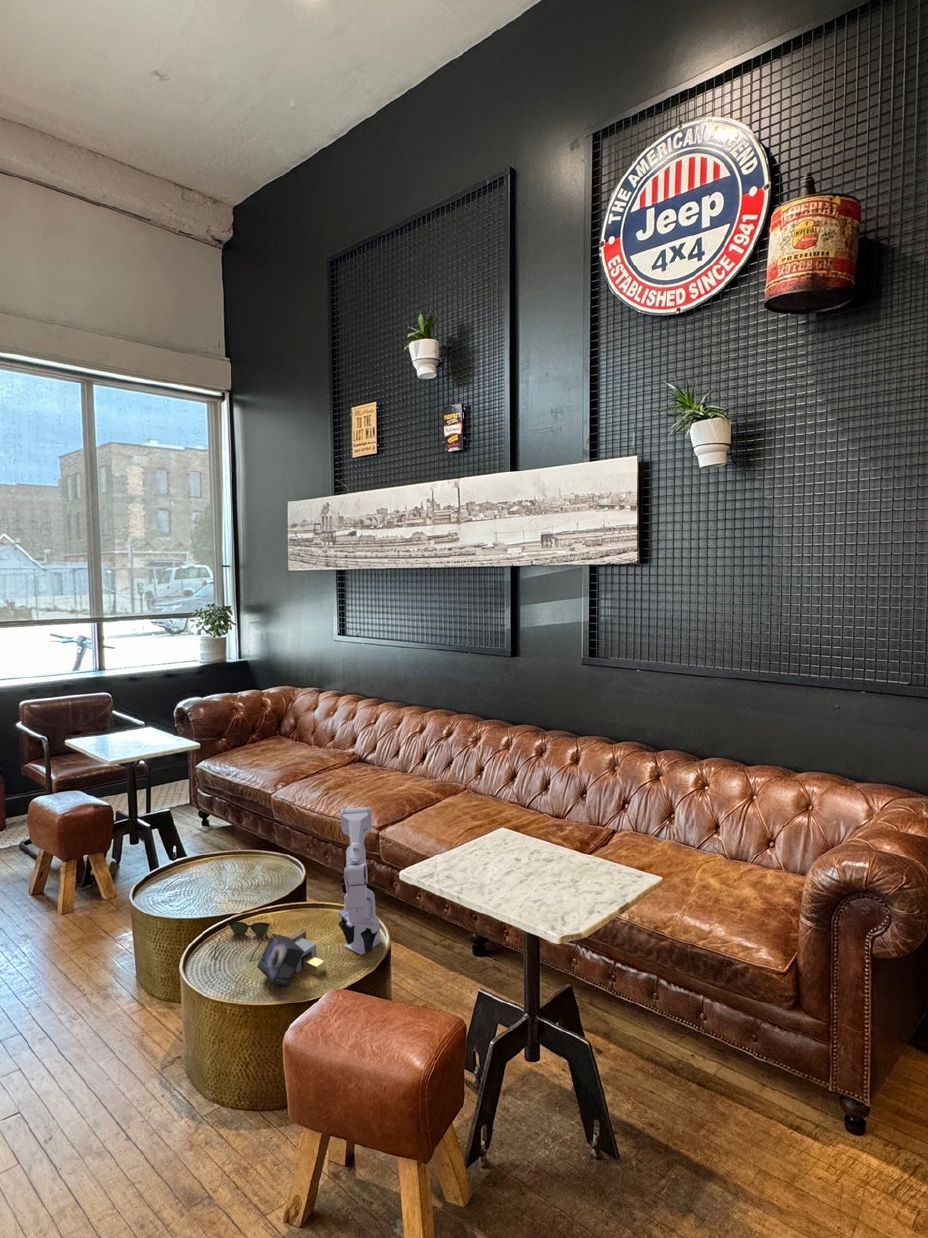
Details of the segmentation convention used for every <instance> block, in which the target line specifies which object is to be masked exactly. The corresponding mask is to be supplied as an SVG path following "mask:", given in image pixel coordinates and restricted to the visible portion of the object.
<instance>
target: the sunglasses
mask: <svg viewBox="0 0 928 1238" xmlns="http://www.w3.org/2000/svg"><path fill="white" fill-rule="evenodd" d="M228 926H229V927H230V929H231V930H232V933H233V934H234V935H245V934H247V932H248V930H249V928H250V929H251V931H252V932H253V933H254V934H255V935H256V936H257V935H260V936H263V937H262V938H261V940H260V942H259V943H258V944H257V946H256V948H255V950H254V951H253V953H252V955H251V957H250V960H249V962H251V961H252V959H253V957H254V954H255V953H256V951H257V950H258V949H259V947H260V945H261V943H262V942H263V941H264V938H265V937H266V936H267V935H268V933H269V930H270V929H269V928H270V926H271V924H270V923H269V922H261V921H259V922H254V923H252V924H247V923H245V922H243V921H242V922H241V921H230V922H228V923H227V925H226V926H225V928H224V930H223V931H222V933H221V935H220V937H219V939H218V940H217V942H216V943H217V944H216V945H215V949H214V957H213V958H214V959H213V960H214V961H216V952H217V948H218V946H219V943H220V941H221V938H222V936H223V934H224V933H225V931H226V929H227V928H229V927H228Z"/></svg>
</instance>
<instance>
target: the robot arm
mask: <svg viewBox="0 0 928 1238" xmlns="http://www.w3.org/2000/svg"><path fill="white" fill-rule="evenodd" d="M372 820H373V819H372V808H371V806H364V807H351V808H343V807H342V809H340V827H341V831H342V834H343V835H346V836H348V837H349V844H350V845H349V846H347V848H346V851H345V852H346V853H345V855H346V859H345V860H346V862H345V864H346V865H345V867H344V871H343V872H344V875H343V876H344V877H343V878H344V884H345V885H344V886H345V891H346V893H345V895H344V897H343V909H342V910H340V911H338V918H339V919H340V921H339V922H338V926H339V927H340V929H341V931H342V933H343V935H344V937H345V942H346V943H345V944H344V948H346V949H348V950H350V951H353V952H354V953H357V954H358V955H361V956H362V955H364V954H369V953H370V952H372V951H373V948H375V947H376V946H377V945H379V944H381V943H382V942H383V939H381V931H380V930H381V929H380V928H381V927H380V920H379V917H378V916H377V914H376V912H377V911H376V899H375V893H374V892H373V890H371V889H370V888H368V887H367V884H368V867H367V861H366V860H367V859H366V858H367V857H366V853H367V852H366V847H365V838H366V835H368V834H369V833H372V829H373V828H372V825H373V823H372V822H373V821H372Z"/></svg>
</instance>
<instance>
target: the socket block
mask: <svg viewBox="0 0 928 1238" xmlns="http://www.w3.org/2000/svg"><path fill="white" fill-rule="evenodd" d="M294 942H295V943H296V944H297V945H298V946H299V947H300V948H301V949H303V950H304V953H303V955H302V957H303V956H304V955H306V954H310V955H312V956H314V957H316V958H318V954H317V953H318V950H317V943H315V942H312V941H310V940H308V939H307V938H306V939H304V938H301V937H300V938H299V939H297V940H296V941H294ZM300 971H302V968H301V959H300V961H299V963H298V966H297V968H296V970H295V972H294V974H298V973H300Z"/></svg>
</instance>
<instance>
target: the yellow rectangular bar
mask: <svg viewBox="0 0 928 1238" xmlns="http://www.w3.org/2000/svg"><path fill="white" fill-rule="evenodd" d="M325 965H326V964H325V960H322V959H321V958H318V957H317V958H316V957H314V956H312V955H310V954H306V955H304V956H303V957H301V968H302V969H303V971H306V972H308V973H311V974H313V975H315V976H319V975H320V974H322V973H323V972H324V971H325V970H326V967H325Z"/></svg>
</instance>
